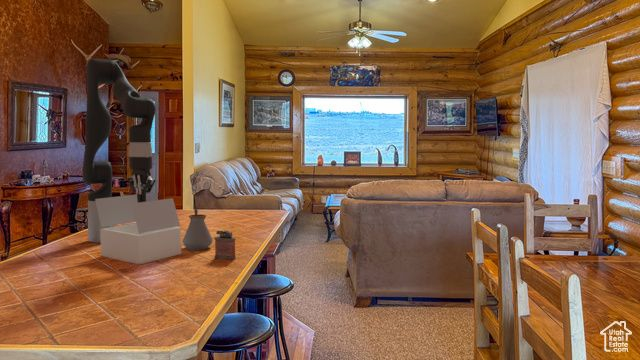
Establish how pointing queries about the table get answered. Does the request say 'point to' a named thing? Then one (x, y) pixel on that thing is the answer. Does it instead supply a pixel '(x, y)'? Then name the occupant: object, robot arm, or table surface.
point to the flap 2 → (155, 215)
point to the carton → (139, 243)
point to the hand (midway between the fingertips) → (141, 204)
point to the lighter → (225, 245)
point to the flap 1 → (116, 210)
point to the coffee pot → (197, 233)
